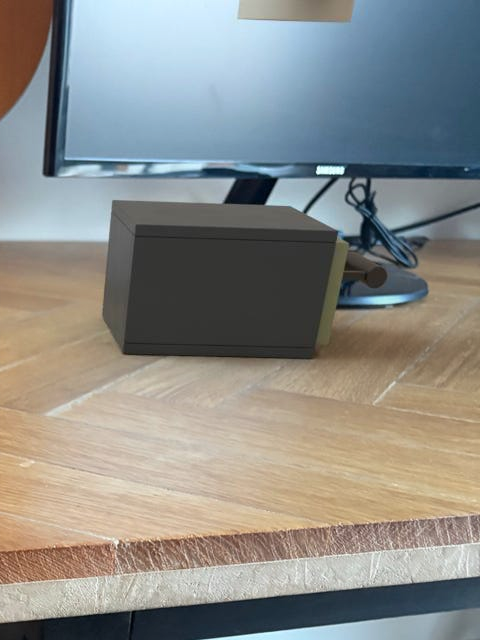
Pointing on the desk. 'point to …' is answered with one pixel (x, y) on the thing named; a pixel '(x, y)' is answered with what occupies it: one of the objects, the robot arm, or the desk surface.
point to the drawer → (346, 269)
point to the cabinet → (216, 279)
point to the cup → (296, 10)
